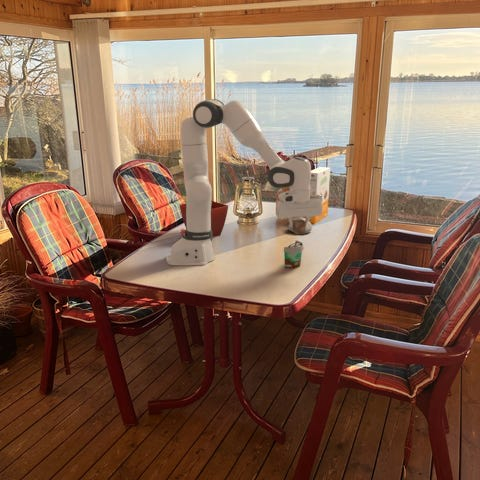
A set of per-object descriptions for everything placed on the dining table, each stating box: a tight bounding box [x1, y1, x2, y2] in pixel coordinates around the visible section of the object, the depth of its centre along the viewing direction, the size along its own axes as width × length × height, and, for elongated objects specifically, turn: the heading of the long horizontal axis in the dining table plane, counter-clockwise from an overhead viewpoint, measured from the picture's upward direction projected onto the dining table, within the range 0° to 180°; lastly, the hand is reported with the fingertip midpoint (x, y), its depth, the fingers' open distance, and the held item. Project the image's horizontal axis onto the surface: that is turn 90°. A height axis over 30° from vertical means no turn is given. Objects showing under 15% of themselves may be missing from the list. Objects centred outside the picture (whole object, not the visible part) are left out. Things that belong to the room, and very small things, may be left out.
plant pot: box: [179, 200, 229, 238], centre depth 254 cm, size 19×19×17 cm
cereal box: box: [304, 166, 331, 225], centre depth 285 cm, size 22×6×30 cm, turn 151°
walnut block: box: [291, 217, 306, 235], centre depth 206 cm, size 4×8×5 cm, turn 7°
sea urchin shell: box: [287, 217, 313, 234], centre depth 263 cm, size 13×14×8 cm
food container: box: [283, 240, 305, 269], centre depth 211 cm, size 12×6×10 cm, turn 148°
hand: (298, 226), depth 207 cm, fingers closed on walnut block, 4 cm apart
